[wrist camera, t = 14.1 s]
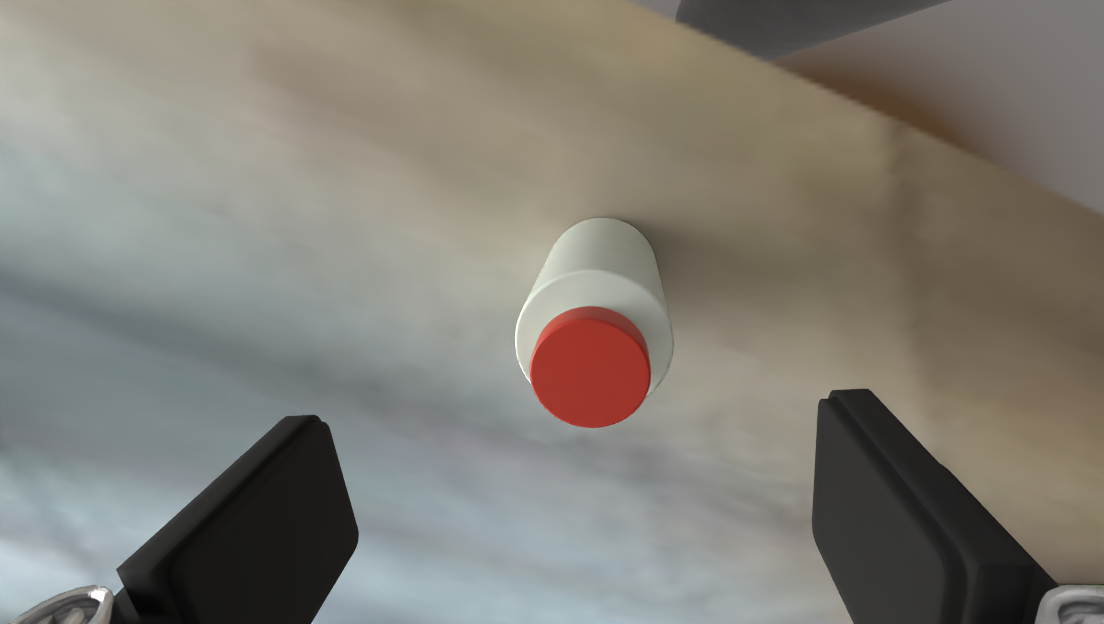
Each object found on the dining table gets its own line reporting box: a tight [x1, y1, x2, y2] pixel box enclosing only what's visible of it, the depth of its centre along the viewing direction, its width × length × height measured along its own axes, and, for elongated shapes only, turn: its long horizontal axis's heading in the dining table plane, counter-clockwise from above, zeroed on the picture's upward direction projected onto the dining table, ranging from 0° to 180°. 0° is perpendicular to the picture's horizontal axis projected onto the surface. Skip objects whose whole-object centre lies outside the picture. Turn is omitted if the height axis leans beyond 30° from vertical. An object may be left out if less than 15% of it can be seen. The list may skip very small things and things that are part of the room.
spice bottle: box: [515, 218, 674, 428], centre depth 18 cm, size 4×4×9 cm
